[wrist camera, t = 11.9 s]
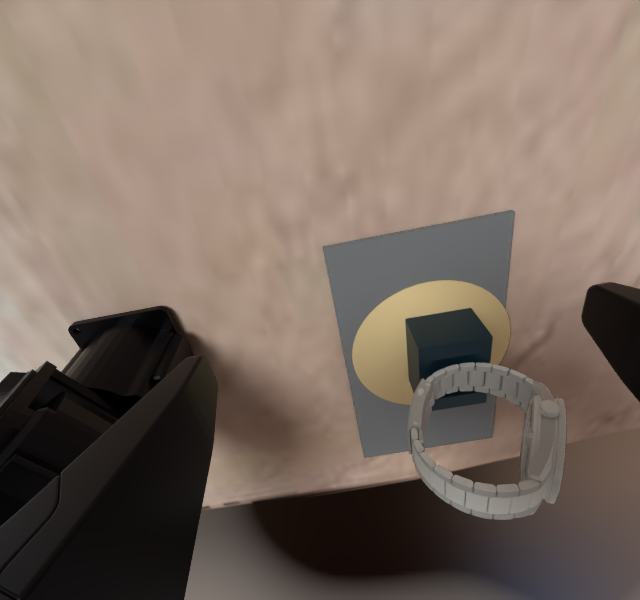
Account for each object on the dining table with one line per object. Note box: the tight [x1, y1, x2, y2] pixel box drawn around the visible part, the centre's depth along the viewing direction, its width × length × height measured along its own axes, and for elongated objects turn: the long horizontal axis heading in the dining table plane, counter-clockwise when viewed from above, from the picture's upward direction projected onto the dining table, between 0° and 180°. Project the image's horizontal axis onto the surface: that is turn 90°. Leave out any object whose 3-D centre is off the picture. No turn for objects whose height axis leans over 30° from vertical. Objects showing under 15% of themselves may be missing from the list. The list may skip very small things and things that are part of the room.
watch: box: [405, 308, 567, 520], centre depth 20 cm, size 6×8×11 cm
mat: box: [323, 210, 515, 458], centre depth 26 cm, size 12×20×1 cm, turn 11°
